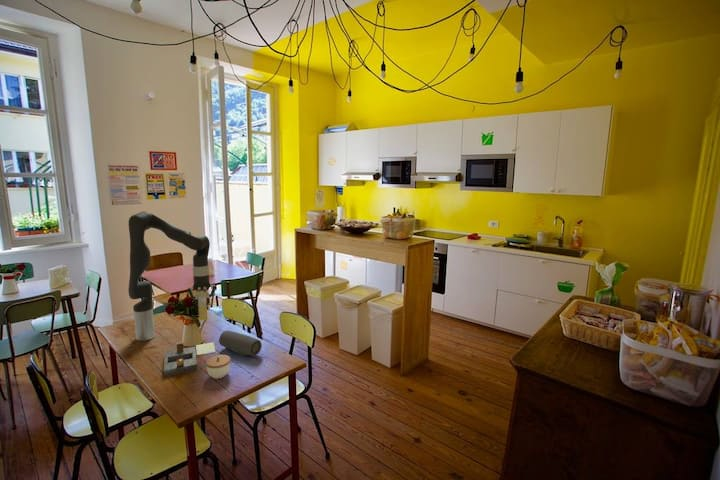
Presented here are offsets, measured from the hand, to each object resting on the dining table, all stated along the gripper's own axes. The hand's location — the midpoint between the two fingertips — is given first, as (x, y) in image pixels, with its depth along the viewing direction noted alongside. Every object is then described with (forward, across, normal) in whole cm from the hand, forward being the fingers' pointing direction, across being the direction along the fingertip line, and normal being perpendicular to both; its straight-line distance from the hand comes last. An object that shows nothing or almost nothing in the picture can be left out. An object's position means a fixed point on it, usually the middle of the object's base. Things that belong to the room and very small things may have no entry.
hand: (202, 304), depth 185 cm
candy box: (+7, 0, 0) cm, 7 cm away
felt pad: (+25, 0, 0) cm, 25 cm away
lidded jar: (+25, +5, -30) cm, 40 cm away
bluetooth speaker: (+25, +17, -10) cm, 32 cm away
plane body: (+25, -12, -11) cm, 30 cm away
